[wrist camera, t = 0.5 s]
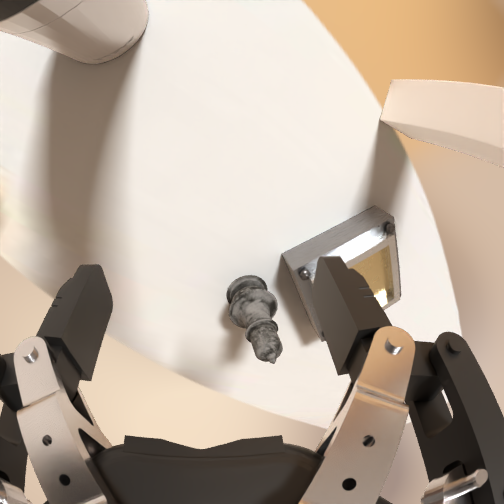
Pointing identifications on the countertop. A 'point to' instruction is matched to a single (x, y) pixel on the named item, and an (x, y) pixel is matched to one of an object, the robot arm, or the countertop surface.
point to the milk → (449, 115)
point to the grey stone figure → (255, 315)
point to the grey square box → (351, 258)
